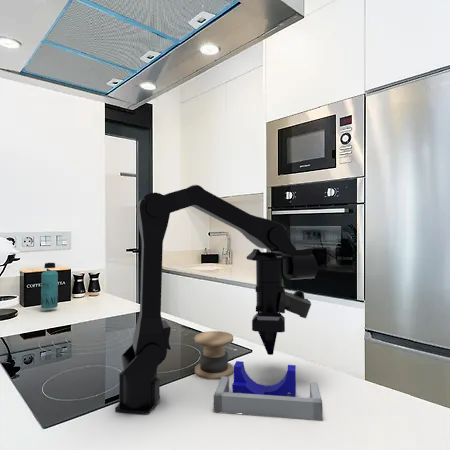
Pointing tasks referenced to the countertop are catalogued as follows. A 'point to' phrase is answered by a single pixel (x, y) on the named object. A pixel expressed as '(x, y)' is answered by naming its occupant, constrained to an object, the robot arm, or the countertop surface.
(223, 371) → the bobbin
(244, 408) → the gray u-shaped bracket
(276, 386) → the cable clip
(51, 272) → the beverage bottle
